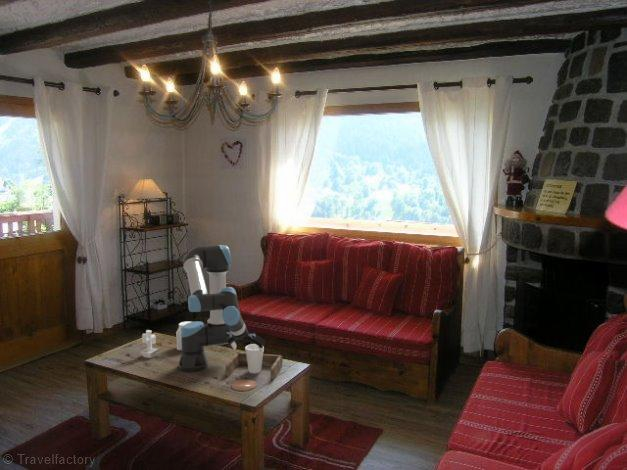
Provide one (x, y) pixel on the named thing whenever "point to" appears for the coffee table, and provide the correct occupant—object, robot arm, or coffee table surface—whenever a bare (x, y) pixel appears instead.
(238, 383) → the terracotta pad
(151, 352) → the figurine
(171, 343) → the coffee table surface
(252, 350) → the foam cup
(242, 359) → the wooden tray
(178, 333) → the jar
